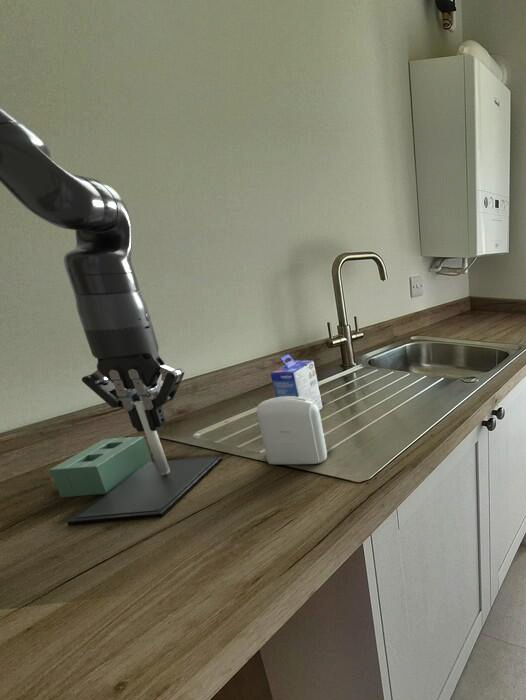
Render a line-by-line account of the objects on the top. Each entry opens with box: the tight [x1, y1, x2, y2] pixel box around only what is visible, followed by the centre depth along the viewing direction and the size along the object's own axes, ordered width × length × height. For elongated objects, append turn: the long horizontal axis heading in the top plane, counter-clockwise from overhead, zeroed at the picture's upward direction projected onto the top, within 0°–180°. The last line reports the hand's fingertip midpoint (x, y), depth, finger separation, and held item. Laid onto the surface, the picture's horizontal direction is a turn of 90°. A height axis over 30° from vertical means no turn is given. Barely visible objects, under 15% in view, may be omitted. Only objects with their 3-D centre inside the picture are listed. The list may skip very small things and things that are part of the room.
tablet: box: [66, 456, 223, 526], centre depth 66 cm, size 12×17×1 cm
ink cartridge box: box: [270, 353, 323, 411], centre depth 92 cm, size 10×6×14 cm, turn 2°
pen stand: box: [49, 435, 153, 498], centre depth 69 cm, size 6×11×5 cm, turn 9°
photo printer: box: [256, 396, 328, 465], centre depth 73 cm, size 10×4×12 cm, turn 90°
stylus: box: [136, 401, 170, 475], centre depth 67 cm, size 1×1×13 cm
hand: (151, 428), depth 66 cm, fingers closed on stylus, 1 cm apart
